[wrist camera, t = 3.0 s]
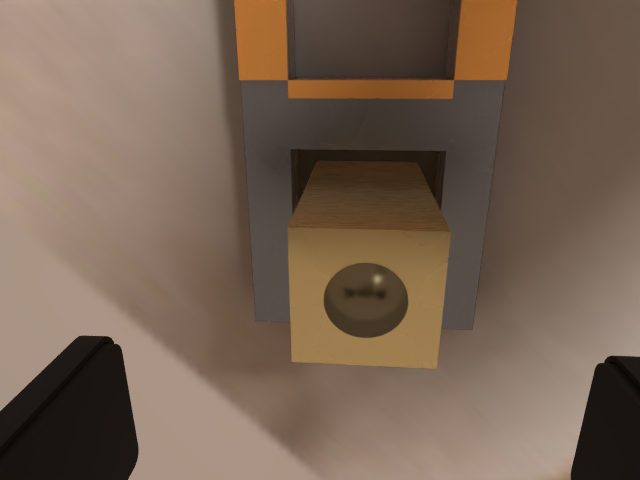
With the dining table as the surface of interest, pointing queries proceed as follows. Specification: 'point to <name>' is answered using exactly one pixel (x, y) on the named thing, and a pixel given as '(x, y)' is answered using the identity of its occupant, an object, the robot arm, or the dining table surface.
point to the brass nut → (367, 266)
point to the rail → (372, 135)
